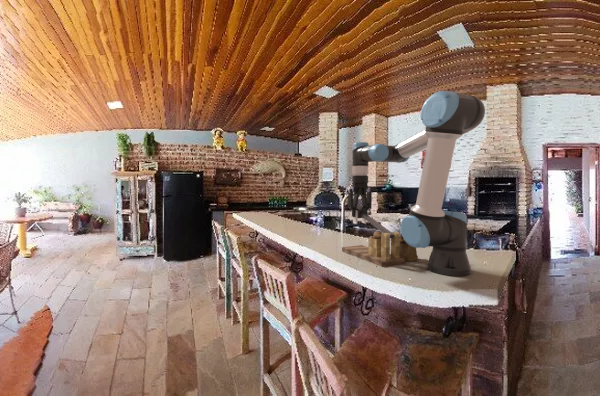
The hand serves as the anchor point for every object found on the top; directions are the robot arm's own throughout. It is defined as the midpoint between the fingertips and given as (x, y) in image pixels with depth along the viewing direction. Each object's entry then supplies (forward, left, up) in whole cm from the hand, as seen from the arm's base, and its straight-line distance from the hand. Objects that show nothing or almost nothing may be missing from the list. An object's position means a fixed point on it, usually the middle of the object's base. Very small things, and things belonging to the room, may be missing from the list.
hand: (359, 223), depth 145 cm
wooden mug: (-19, -14, -15) cm, 28 cm away
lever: (-10, 0, 0) cm, 10 cm away
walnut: (-14, 0, -6) cm, 15 cm away
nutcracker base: (-9, 0, -14) cm, 17 cm away
